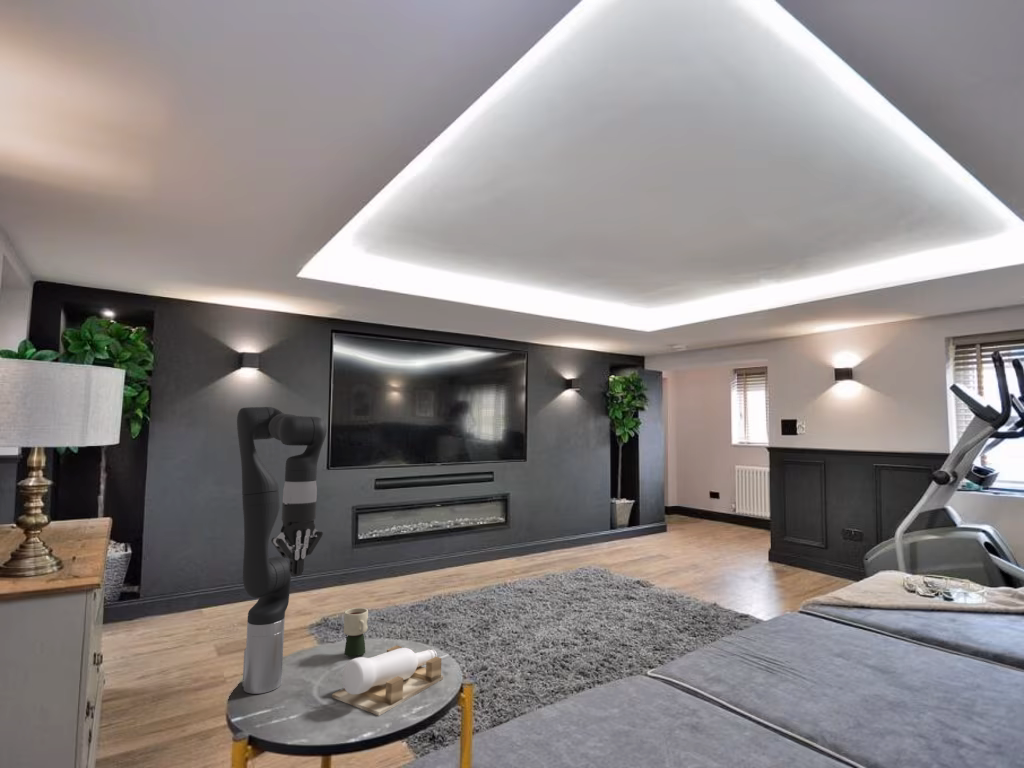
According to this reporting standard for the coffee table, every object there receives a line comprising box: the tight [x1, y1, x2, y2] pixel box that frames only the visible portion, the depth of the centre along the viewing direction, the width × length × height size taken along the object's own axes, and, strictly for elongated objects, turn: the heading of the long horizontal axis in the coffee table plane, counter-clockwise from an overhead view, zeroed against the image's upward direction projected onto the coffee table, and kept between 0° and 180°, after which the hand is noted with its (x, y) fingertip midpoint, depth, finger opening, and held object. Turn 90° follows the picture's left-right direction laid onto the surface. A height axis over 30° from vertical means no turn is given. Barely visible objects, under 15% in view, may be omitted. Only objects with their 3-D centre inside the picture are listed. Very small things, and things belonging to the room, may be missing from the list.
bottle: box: [341, 647, 438, 694], centre depth 144 cm, size 8×8×30 cm
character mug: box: [343, 607, 369, 657], centre depth 165 cm, size 11×7×13 cm, turn 39°
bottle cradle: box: [331, 645, 444, 717], centre depth 143 cm, size 17×24×6 cm
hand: (296, 575), depth 125 cm, fingers closed
